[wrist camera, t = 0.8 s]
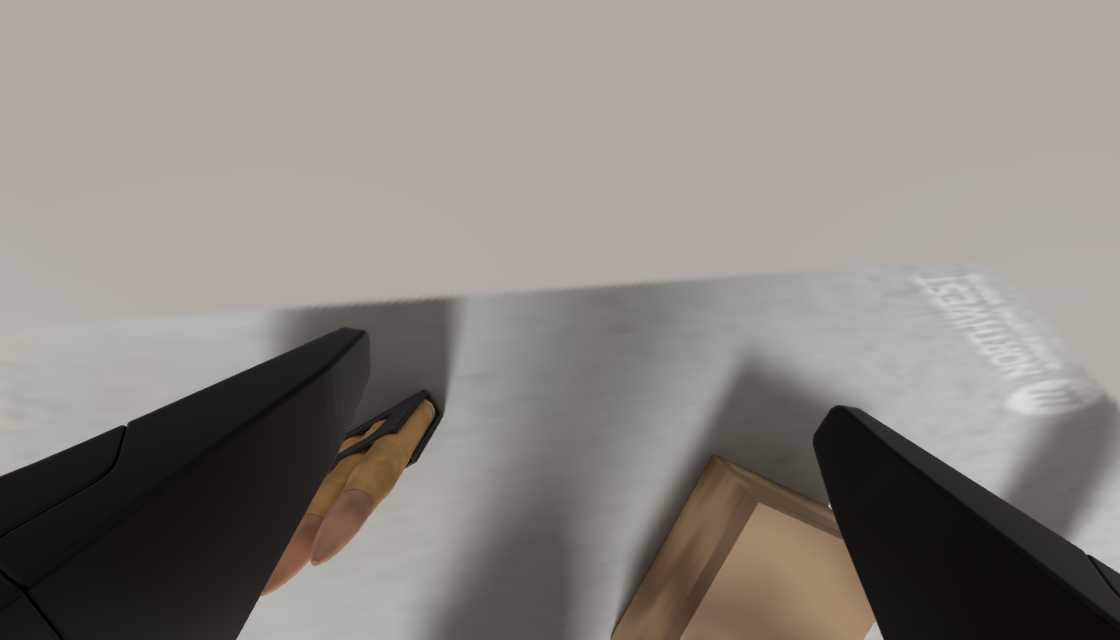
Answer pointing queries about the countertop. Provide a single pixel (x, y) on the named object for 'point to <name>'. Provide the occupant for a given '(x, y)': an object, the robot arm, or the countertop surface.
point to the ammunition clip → (358, 483)
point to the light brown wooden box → (701, 544)
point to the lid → (775, 582)
